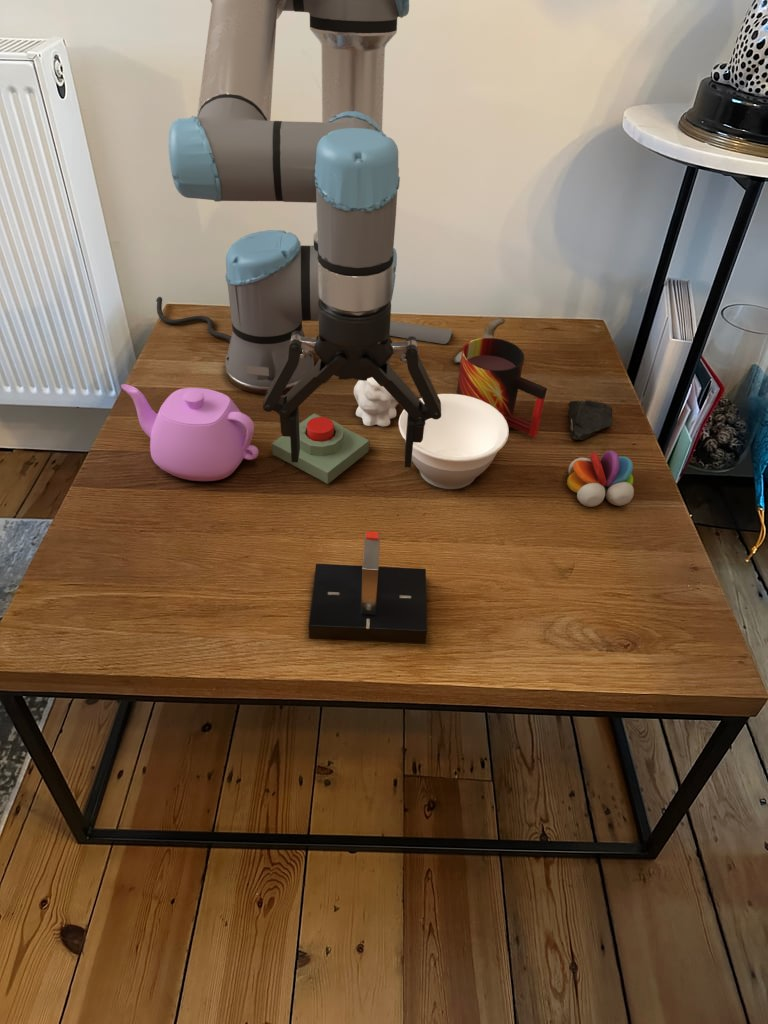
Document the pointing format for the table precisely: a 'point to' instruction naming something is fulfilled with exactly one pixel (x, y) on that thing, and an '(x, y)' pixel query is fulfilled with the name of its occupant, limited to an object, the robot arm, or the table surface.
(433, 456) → the bowl
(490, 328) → the skull
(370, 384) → the rabbit
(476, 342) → the mug
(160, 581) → the table surface
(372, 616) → the control panel
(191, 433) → the teapot
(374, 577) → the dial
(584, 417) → the rock
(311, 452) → the button box
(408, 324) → the half round rod
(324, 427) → the button
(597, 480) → the rainbow petal toy
